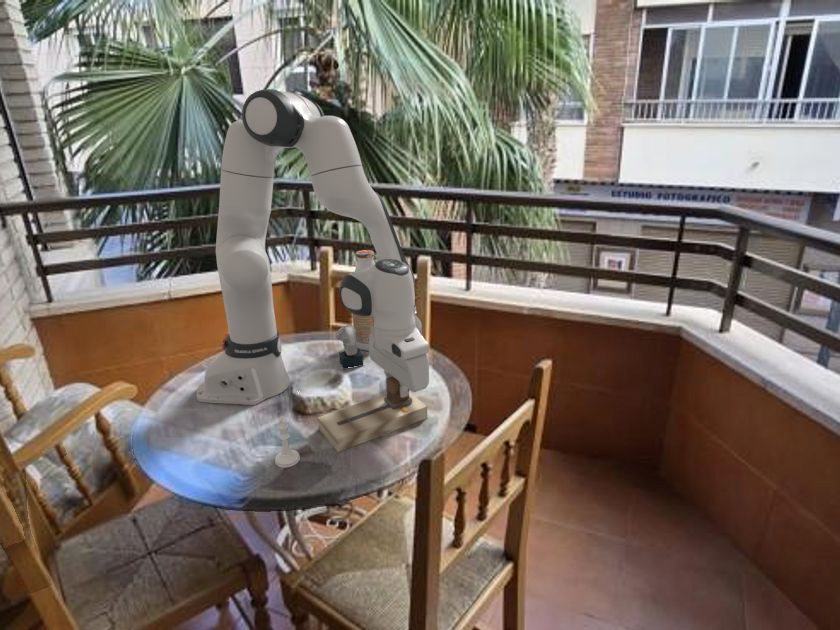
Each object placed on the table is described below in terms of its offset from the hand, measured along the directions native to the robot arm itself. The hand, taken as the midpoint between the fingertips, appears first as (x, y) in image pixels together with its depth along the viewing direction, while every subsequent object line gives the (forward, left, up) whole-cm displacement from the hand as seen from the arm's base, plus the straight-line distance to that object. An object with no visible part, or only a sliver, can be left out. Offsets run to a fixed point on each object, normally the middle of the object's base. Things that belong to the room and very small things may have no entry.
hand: (397, 391), depth 120 cm
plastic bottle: (+3, +16, -6) cm, 18 cm away
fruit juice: (-8, +38, -6) cm, 39 cm away
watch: (-13, +26, -6) cm, 30 cm away
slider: (0, 0, -3) cm, 3 cm away
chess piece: (-23, -15, -6) cm, 28 cm away
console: (-6, -3, -6) cm, 9 cm away
